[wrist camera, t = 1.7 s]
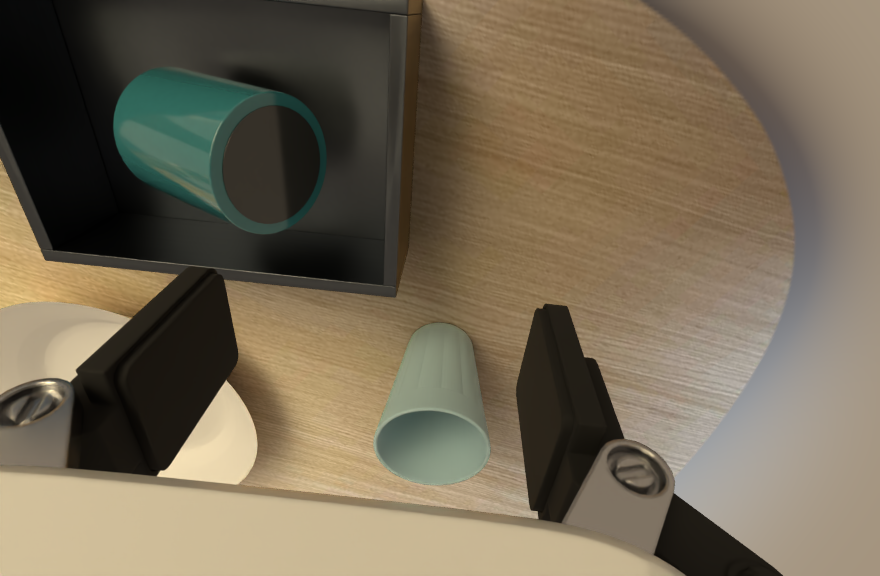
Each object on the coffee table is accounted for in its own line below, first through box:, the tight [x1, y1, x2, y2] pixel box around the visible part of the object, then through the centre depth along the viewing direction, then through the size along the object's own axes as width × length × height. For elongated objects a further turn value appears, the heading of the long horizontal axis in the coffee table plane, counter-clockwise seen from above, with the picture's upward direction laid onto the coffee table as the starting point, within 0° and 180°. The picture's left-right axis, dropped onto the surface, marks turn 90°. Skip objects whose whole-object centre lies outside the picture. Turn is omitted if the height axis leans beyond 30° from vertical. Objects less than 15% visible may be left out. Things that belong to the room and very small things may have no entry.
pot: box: [113, 66, 327, 234], centre depth 24 cm, size 7×7×8 cm
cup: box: [373, 323, 491, 485], centre depth 33 cm, size 8×8×10 cm
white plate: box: [0, 302, 257, 485], centre depth 41 cm, size 25×25×4 cm
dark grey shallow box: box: [0, 0, 423, 298], centre depth 26 cm, size 16×22×7 cm
